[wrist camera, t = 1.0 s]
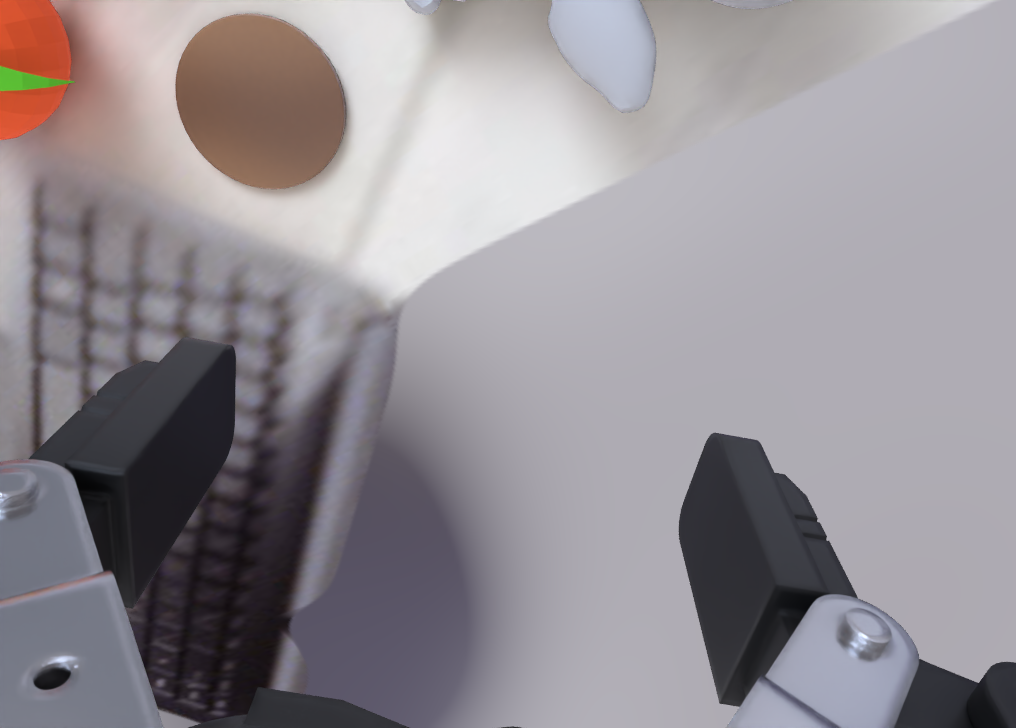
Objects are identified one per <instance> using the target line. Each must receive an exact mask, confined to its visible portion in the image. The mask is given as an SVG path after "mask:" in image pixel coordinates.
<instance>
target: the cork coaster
mask: <svg viewBox="0 0 1016 728" xmlns="http://www.w3.org/2000/svg"><path fill="white" fill-rule="evenodd" d="M176 100H177V106H178V110H179V114H180V117H181V120H182V123H183V125H184V128H185V130H186V132H187V134H188V135H189V137H190V139H191V141H192V142H193V144H194V145H195V146H196V148H197V149H198V151H199V152H200V153H201V154H202V155H203V156H204V157H205V158H206V159H207V160H208V161H209V162H210V163H211V164H212V165H213V166H214V167H216V168H217V169H218V170H220V171H221V172H222V173H224V174H225V175H227V176H229V177H231V178H232V179H234V180H237V181H239V182H241V183H244V184H247V185H250V186H253V187H259V188H264V189H281V188H288V187H293V186H296V185H299V184H301V183H304V182H306V181H308V180H310V179H311V178H313V177H314V176H316V175H317V174H318V173H320V172H321V171H322V170H323V169H324V168H325V167H326V166H327V165H328V164H329V162H330V161H331V160H332V158H333V157H334V155H335V154H336V152H337V150H338V148H339V146H340V143H341V140H342V138H343V134H344V129H345V121H346V107H345V99H344V94H343V90H342V86H341V83H340V80H339V78H338V76H337V73H336V71H335V69H334V67H333V66H332V64H331V62H330V61H329V59H328V58H327V56H326V55H325V54H324V52H323V51H322V50H321V48H320V47H319V46H318V45H317V44H316V43H315V42H314V41H313V40H312V39H311V38H309V37H308V36H307V35H306V34H305V33H303V32H302V31H301V30H299V29H297V28H296V27H294V26H293V25H291V24H289V23H287V22H285V21H282V20H280V19H277V18H274V17H271V16H266V15H261V14H248V13H246V14H236V15H232V16H228V17H224V18H221V19H219V20H216V21H214V22H212V23H210V24H209V25H207V26H206V27H204V28H203V29H202V30H201V31H199V32H198V33H197V34H196V35H195V36H194V37H193V39H192V40H191V41H190V42H189V44H188V45H187V47H186V49H185V50H184V52H183V54H182V57H181V60H180V62H179V66H178V70H177V75H176Z"/></svg>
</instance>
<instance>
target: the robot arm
mask: <svg viewBox="0 0 1016 728" xmlns="http://www.w3.org/2000/svg"><path fill="white" fill-rule="evenodd" d="M235 378H236V355H235V350H234V347H233V346H232V345H228V344H222V343H217V342H211V341H205V340H200V339H194V338H189V337H184V338H182V339H181V340H180V341H179V342H178V343H177V344H176V345H175V346H174V347H173V348H172V350H171V351H170V352H169V353H168V354H167V355H166V356H165V357H164V358H163V359H162V360H161V361H160V362H159V363H157V362H151V361H146V360H145V361H143V362H140V363H138V364H136V365H134V366H132V367H130V368H127V369H125V370H123V371H121V372H119V373H116V374H115V375H114V376H113V377H112V378H111V379H110V380H109V381H108V382H107V383H106V384H105V385H104V386H103V387H102V388H101V389H100V390H99V391H98V392H97V396H95V395H94V396H93V397H91V398H90V399H89V400H88V401H87V402H86V403H85V404H84V405H83V406H82V410H81V411H77V412H76V413H75V414H74V415H73V416H72V417H71V418H70V419H69V420H68V421H67V422H66V423H65V424H64V425H63V426H62V427H61V428H60V429H59V430H58V431H57V432H56V433H55V434H53V435H52V436H51V437H50V438H49V439H48V440H47V441H46V442H45V443H44V444H43V445H42V446H41V447H40V448H39V449H38V450H37V451H36V452H35V453H34V454H33V455H32V456H31V457H30V458H29V459H21V460H10V461H3V462H0V728H164V727H163V724H162V721H161V718H160V715H159V712H158V709H157V705H156V702H155V699H154V696H153V693H152V690H151V687H150V684H149V681H148V678H147V675H146V672H145V669H144V666H143V663H142V660H141V656H140V653H139V650H138V647H137V644H136V641H135V638H134V635H133V632H132V629H131V626H130V623H129V620H128V617H127V614H126V610H125V607H127V608H134V606H135V604H136V603H137V601H138V600H139V598H140V596H141V595H142V593H143V592H144V590H145V588H146V587H147V585H148V584H149V582H150V580H151V579H152V577H153V576H154V574H155V572H156V571H157V569H158V568H159V566H160V565H161V563H162V561H163V560H164V558H165V557H166V555H167V553H168V552H169V550H170V549H171V547H172V545H173V544H174V542H175V541H176V539H177V537H178V536H179V534H180V533H181V531H182V529H183V528H184V526H185V525H186V523H187V521H188V520H189V518H190V517H191V515H192V513H193V512H194V510H195V509H196V507H197V506H198V504H199V502H200V501H201V499H202V498H203V496H204V494H205V493H206V491H207V490H208V488H209V486H210V485H211V483H212V482H213V480H214V478H215V477H216V475H217V474H218V472H219V470H220V469H221V467H222V466H223V464H224V462H225V461H226V458H227V456H228V454H229V451H230V448H231V444H232V440H233V435H234V427H235ZM826 537H827V536H826V534H825V532H824V530H823V528H822V526H821V524H820V523H819V522H817V516H816V514H815V512H814V510H813V508H812V506H811V504H810V502H809V500H808V498H807V496H806V495H805V494H804V493H803V492H802V491H801V490H800V489H799V488H798V487H797V486H796V485H795V484H794V483H793V482H792V481H791V480H790V479H789V478H788V477H787V476H786V475H784V474H779V473H774V471H773V469H772V467H771V465H770V463H769V460H768V458H767V456H766V454H765V452H764V450H763V447H762V445H761V444H760V442H759V441H757V440H753V439H747V438H741V437H736V436H730V435H724V434H719V433H713V434H711V435H710V437H709V438H708V440H707V441H706V444H705V446H704V449H703V452H702V454H701V457H700V459H699V462H698V465H697V467H696V470H695V473H694V475H693V478H692V481H691V484H690V486H689V489H688V491H687V494H686V497H685V499H684V502H683V505H682V509H681V514H680V520H679V540H680V544H681V548H682V552H683V557H684V561H685V565H686V569H687V573H688V577H689V581H690V585H691V589H692V593H693V597H694V601H695V605H696V609H697V613H698V618H699V622H700V625H701V630H702V634H703V638H704V642H705V646H706V650H707V654H708V658H709V662H710V666H711V670H712V674H713V678H714V683H715V686H716V691H717V694H718V698H719V703H720V704H727V705H733V706H739V709H738V710H737V712H736V713H735V715H734V716H733V718H732V719H731V721H730V723H729V724H728V726H727V727H726V728H1016V663H1014V662H1001V663H996V664H995V665H993V666H991V667H990V669H989V670H988V671H987V673H986V674H985V675H984V677H983V678H982V679H981V681H980V682H979V683H977V682H974V681H972V680H969V679H967V678H964V677H962V676H959V675H956V674H954V673H952V672H949V671H947V670H945V669H942V668H939V667H937V666H935V665H932V664H930V663H927V662H925V661H923V660H921V659H919V654H918V651H917V648H916V646H915V644H914V642H913V640H912V639H911V638H910V636H909V635H908V633H907V632H906V631H905V630H904V629H903V627H902V626H901V625H900V624H899V623H897V622H896V621H895V620H894V619H893V618H892V617H890V616H889V615H888V614H886V613H885V612H883V611H882V610H880V609H879V608H877V607H875V606H873V605H872V604H870V603H867V602H865V601H863V600H860V599H858V598H857V595H856V593H855V591H854V590H853V588H852V585H851V583H850V582H849V580H848V577H847V576H846V574H845V572H844V570H843V568H842V566H841V564H840V562H839V560H838V558H837V556H836V554H835V552H834V550H833V548H832V546H831V544H830V542H829V541H826ZM189 728H409V727H406V726H404V725H401V724H399V723H397V722H394V721H391V720H389V719H387V718H385V717H382V716H380V715H377V714H375V713H372V712H370V711H367V710H365V709H362V708H360V707H358V706H355V705H353V704H350V703H348V702H346V701H343V700H337V699H332V698H324V697H319V696H312V695H306V694H299V693H293V692H286V691H280V690H273V689H267V688H260V687H258V689H257V691H256V694H255V696H254V699H253V702H252V704H251V707H250V709H249V712H248V715H240V716H231V717H226V718H221V719H216V720H211V721H208V722H205V723H201V724H198V725H195V726H192V727H189ZM503 728H520V727H503Z"/></svg>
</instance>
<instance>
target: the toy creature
mask: <svg viewBox="0 0 1016 728" xmlns="http://www.w3.org/2000/svg"><path fill="white" fill-rule="evenodd" d="M455 1H463V2H464V1H466V0H455ZM712 1H714V2H717V3H720V4H723V5H726V6H730V7H734V8H741V9H760V8H768V7H773V6H777V5H781V4H784V3H787V2H790V1H792V0H712ZM405 2H406V3H407V5H408V6H409V7H410V8H411V9H412V10H413V11H415V12H416V13H420V14H423V15H428V14H431V13H433V12H434V11H435V10H436V9H437V8H438V6H439V4H440V2H441V0H405ZM548 24H549V29H550V31H551V33H552V36H553V38H554V40H555V42H556V44H557V46H558V48H559V50H560V52H561V54H562V56H563V57H564V59H565V60H566V62H567V63H568V64H569V65H570V67H571V68H572V69H573V70H574V71H575V72H576V73H577V74H578V75H579V76H580V77H581V78H582V79H583V80H584V81H585V82H587V83H588V84H590V85H591V86H592V87H594V88H595V89H596V90H597V91H598V92H599V93H600V94H602V95H603V96H604V97H605V99H606V100H607V101H608V102H609V103H610V104H611V105H612V106H613V107H614V108H615V109H617V110H619V111H620V112H622V113H626V112H633V111H637V110H639V109H641V108H642V107H644V106H645V104H646V102H647V101H648V99H649V96H650V92H651V88H652V83H653V77H654V71H655V64H656V42H655V37H654V33H653V30H652V27H651V24H650V21H649V19H648V17H647V14H646V12H645V10H644V8H643V6H642V4H641V2H640V0H552V6H551V11H550V13H549V16H548Z"/></svg>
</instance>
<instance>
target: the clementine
mask: <svg viewBox="0 0 1016 728" xmlns="http://www.w3.org/2000/svg"><path fill="white" fill-rule="evenodd" d="M71 61H72V59H71V53H70V46H69V40H68V36H67V34H66V31H65V29H64V26H63V24H62V21H61V19H60V16H59V15H58V13H57V12H56V10H55V9H54V7H53V5H52V4H51V2H50V1H49V0H0V140H4V139H11V138H17V137H19V136H21V135H23V134H25V133H26V132H28V131H30V130H32V129H34V128H36V127H37V126H39V125H40V124H42V123H43V122H45V121H46V120H47V119H48V118H49V117H50V116H51V114H52V113H53V112H54V111H55V110H56V109H57V108H58V107H59V105H60V103H61V100H62V98H63V96H64V93H65V91H66V89H67V86H68V83H73V82H74V81H69V80H70V70H71Z"/></svg>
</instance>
